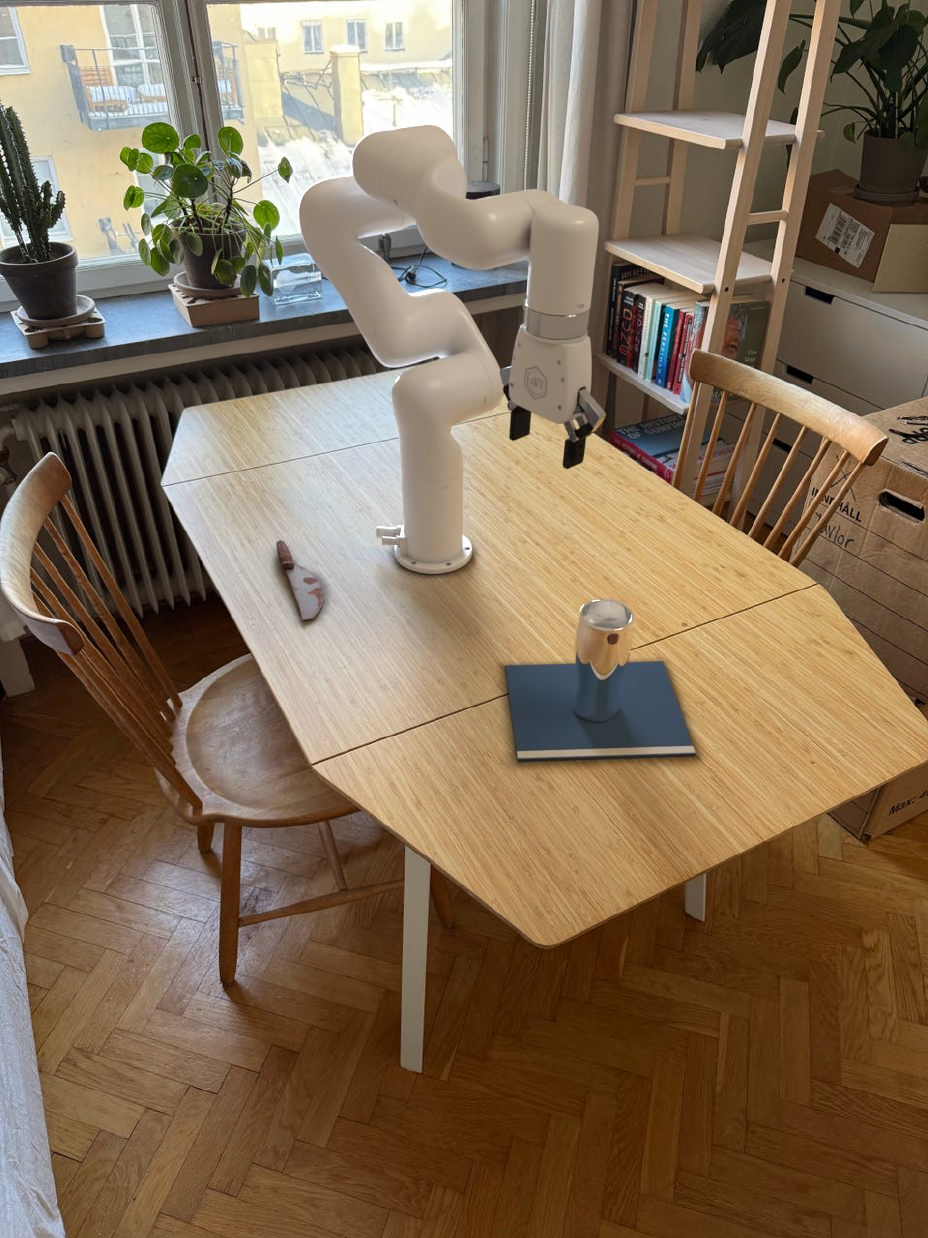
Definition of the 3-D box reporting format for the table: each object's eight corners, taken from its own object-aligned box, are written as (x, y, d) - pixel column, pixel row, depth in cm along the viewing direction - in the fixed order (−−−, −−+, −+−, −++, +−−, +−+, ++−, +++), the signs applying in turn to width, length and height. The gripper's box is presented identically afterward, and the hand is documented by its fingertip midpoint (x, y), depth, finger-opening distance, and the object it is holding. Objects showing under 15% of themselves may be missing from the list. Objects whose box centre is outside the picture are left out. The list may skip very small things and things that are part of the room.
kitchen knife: (333, 613, 136) (299, 616, 134) (332, 622, 137) (299, 625, 135) (305, 536, 151) (274, 538, 149) (304, 545, 152) (274, 547, 150)
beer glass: (564, 690, 122) (573, 598, 113) (615, 687, 123) (628, 596, 114) (573, 726, 117) (583, 632, 108) (627, 723, 117) (642, 630, 108)
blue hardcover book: (517, 761, 112) (517, 759, 112) (505, 667, 127) (505, 665, 127) (695, 756, 113) (696, 753, 113) (662, 663, 128) (663, 660, 128)
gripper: (484, 306, 112) (479, 435, 122) (589, 350, 101) (574, 486, 112) (528, 293, 116) (519, 419, 126) (633, 334, 105) (615, 467, 116)
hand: (545, 450), depth 119 cm, fingers open, 9 cm apart
